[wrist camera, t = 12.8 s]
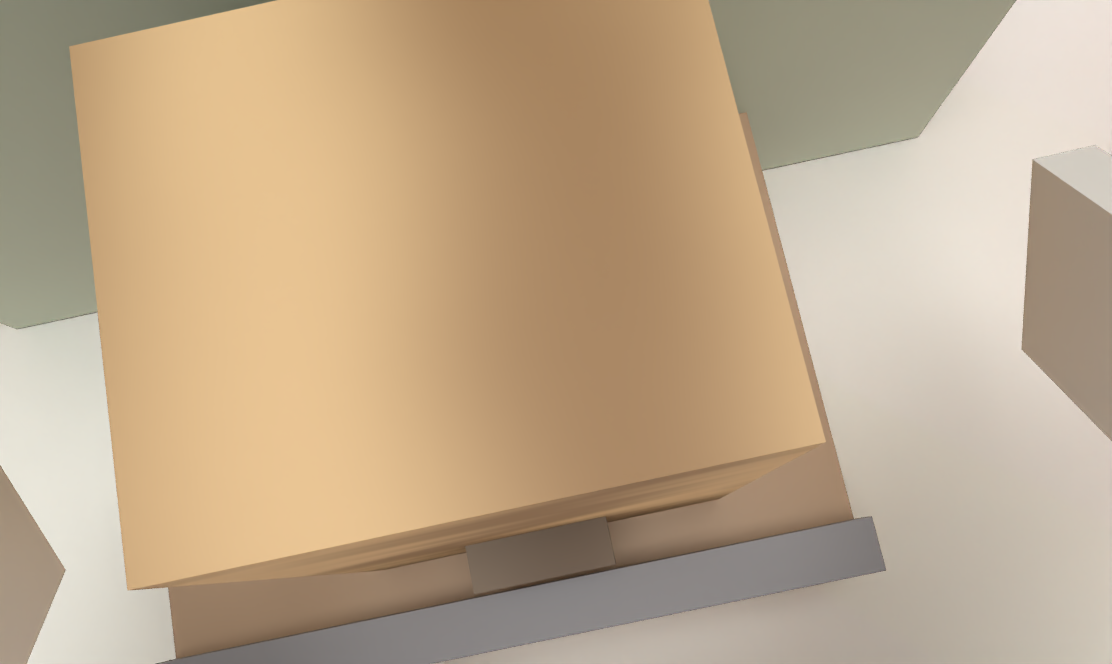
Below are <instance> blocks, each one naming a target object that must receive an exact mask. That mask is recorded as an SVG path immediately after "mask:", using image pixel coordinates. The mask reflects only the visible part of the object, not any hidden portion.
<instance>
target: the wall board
mask: <svg viewBox="0 0 1112 664" xmlns="http://www.w3.org/2000/svg"><path fill="white" fill-rule="evenodd" d="M271 1H276V0H0V323H2V324H5V325H7V326H10V327H13V328H15V329H19V328H24V327H29V326H33V325H38V324H43V323H47V322H52V321H57V320H61V319H66V318H71V317H76V316H80V315H85V314H90V313H94V312H98V311H97V301H96V292H95V283H94V273H93V264H92V255H91V245H90V236H89V227H88V217H87V208H86V199H85V190H84V180H83V171H82V162H81V152H80V143H79V134H78V124H77V115H76V106H75V96H74V87H73V78H72V68H71V59H70V50H69V46H73V45H78V44H82V43H87V42H91V41H96V40H100V39H105V38H109V37H114V36H118V35H123V34H127V33H132V32H136V31H141V30H145V29H150V28H154V27H159V26H163V25H168V24H172V23H177V22H181V21H186V20H190V19H195V18H199V17H204V16H208V15H213V14H217V13H222V12H226V11H231V10H235V9H240V8H244V7H249V6H253V5H258V4H262V3H267V2H271ZM1015 1H1016V0H709V4H710V8H711V12H712V16H713V19H714V23H715V27H716V31H717V34H718V38H719V42H720V46H721V49H722V53H723V57H724V61H725V64H726V68H727V72H728V76H729V79H730V83H731V87H732V91H733V94H734V98H735V102H736V106H737V109H738V113H739V117H740V121H741V124H742V128H743V132H744V136H745V140H746V143H747V147H748V151H749V155H750V158H751V162H752V166H753V170H754V173H755V177H756V181H757V185H758V188H759V192H760V196H761V200H762V203H763V207H764V211H765V215H766V218H767V222H768V226H769V230H770V233H771V237H772V241H773V245H774V248H775V252H776V256H777V260H778V264H779V267H780V271H781V275H782V279H783V282H784V286H785V290H786V294H787V297H788V301H789V305H790V309H791V312H792V316H793V320H794V324H795V327H796V331H797V335H798V339H799V342H800V346H801V350H802V354H803V357H804V361H805V365H806V369H807V373H808V376H809V380H810V384H811V388H812V391H813V395H814V399H815V403H816V406H817V410H818V414H819V418H820V421H821V425H822V429H823V433H824V436H825V440H826V442H825V443H823V444H821V445H820V446H818V447H816V448H814V449H812V450H810V451H808V452H806V453H805V454H803V455H801V456H799V457H797V458H795V459H793V460H791V461H790V462H788V463H786V464H784V465H782V466H780V467H778V468H776V469H775V470H773V471H771V472H769V473H767V474H765V475H763V476H761V477H760V478H758V479H756V480H754V481H752V482H750V483H748V484H747V485H745V486H743V487H741V488H739V489H737V490H735V491H733V492H732V493H730V494H728V495H726V496H724V497H722V498H720V499H718V500H713V501H708V502H703V503H699V504H694V505H689V506H685V507H680V508H675V509H670V510H666V511H661V512H656V513H651V514H647V515H642V516H637V517H633V518H628V519H623V520H618V521H614V522H609V523H608V527H609V532H610V537H611V541H612V546H613V551H614V556H615V560H616V565H611V566H606V567H601V568H597V569H592V570H587V571H582V572H578V573H573V574H568V575H563V576H559V577H554V578H549V579H544V580H540V581H535V582H530V583H526V584H521V585H516V586H511V587H507V588H502V589H497V590H492V591H488V592H483V593H478V594H474V592H473V586H472V581H471V575H470V570H469V564H468V559H467V553H463V554H458V555H453V556H448V557H444V558H439V559H434V560H430V561H425V562H420V563H415V564H411V565H406V566H401V567H397V568H392V569H387V570H381V571H368V572H356V573H343V574H330V575H317V576H305V577H292V578H279V579H267V580H254V581H241V582H228V583H216V584H203V585H190V586H178V587H168V590H169V599H170V607H171V616H172V625H173V634H174V643H175V652H176V659H173V660H169V661H165V662H161V663H157V664H433V663H438V662H443V661H448V660H452V659H457V658H462V657H467V656H472V655H477V654H482V653H487V652H491V651H496V650H501V649H506V648H511V647H516V646H521V645H526V644H530V643H535V642H540V641H545V640H550V639H555V638H560V637H564V636H569V635H574V634H579V633H584V632H589V631H594V630H599V629H603V628H608V627H613V626H618V625H623V624H628V623H633V622H637V621H642V620H647V619H652V618H657V617H662V616H667V615H672V614H676V613H681V612H686V611H691V610H696V609H701V608H706V607H711V606H715V605H720V604H725V603H730V602H735V601H740V600H745V599H749V598H754V597H759V596H764V595H769V594H774V593H779V592H784V591H788V590H793V589H798V588H803V587H808V586H813V585H818V584H823V583H827V582H832V581H837V580H842V579H847V578H852V577H857V576H861V575H866V574H871V573H876V572H881V571H886V568H885V564H884V560H883V556H882V553H881V549H880V545H879V542H878V538H877V534H876V530H875V527H874V523H873V519H872V516H871V517H864V518H857V519H854V518H853V514H852V511H851V507H850V503H849V499H848V495H847V492H846V488H845V484H844V480H843V476H842V473H841V469H840V465H839V461H838V457H837V454H836V450H835V446H834V442H833V438H832V435H831V431H830V427H829V423H828V419H827V416H826V412H825V408H824V404H823V400H822V397H821V393H820V389H819V385H818V381H817V378H816V374H815V370H814V366H813V362H812V359H811V355H810V351H809V347H808V343H807V340H806V336H805V332H804V328H803V324H802V321H801V317H800V313H799V309H798V305H797V302H796V298H795V294H794V290H793V286H792V283H791V279H790V275H789V271H788V267H787V264H786V260H785V256H784V252H783V248H782V245H781V241H780V237H779V233H778V229H777V226H776V222H775V218H774V214H773V210H772V207H771V203H770V199H769V195H768V191H767V188H766V184H765V180H764V176H763V172H762V170H766V169H770V168H775V167H780V166H785V165H789V164H794V163H799V162H803V161H808V160H813V159H817V158H822V157H827V156H832V155H836V154H841V153H846V152H850V151H855V150H860V149H864V148H869V147H874V146H878V145H883V144H888V143H893V142H897V141H902V140H907V139H911V138H916V137H918V136H919V135H920V134H921V132H922V131H923V129H924V128H925V127H926V125H927V124H928V122H929V121H930V120H931V118H932V117H933V116H934V114H935V113H936V111H937V110H938V109H939V107H940V106H941V104H942V103H943V102H944V100H945V99H946V97H947V96H948V95H949V93H950V92H951V90H952V89H953V88H954V86H955V85H956V83H957V82H958V81H959V79H960V78H961V76H962V75H963V74H964V72H965V71H966V70H967V68H968V67H969V65H970V64H971V63H972V61H973V60H974V58H975V57H976V56H977V54H978V53H979V51H980V50H981V49H982V47H983V46H984V44H985V43H986V42H987V40H988V39H989V37H990V36H991V35H992V33H993V32H994V30H995V29H996V28H997V26H998V25H999V24H1000V22H1001V21H1002V19H1003V18H1004V17H1005V15H1006V14H1007V12H1008V11H1009V10H1010V8H1011V7H1012V5H1013V4H1014V3H1015Z"/></svg>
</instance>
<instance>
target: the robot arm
mask: <svg viewBox="0 0 1112 664" xmlns="http://www.w3.org/2000/svg"><path fill="white" fill-rule="evenodd" d="M1022 350H1023V351H1024V352H1025V353H1026V354H1027V355H1028V356H1029V357H1030V358H1031V359H1032V360H1033V361H1034V362H1035V363H1036V364H1037V365H1038V366H1039V367H1040V368H1041V369H1042V370H1043V372H1044V373H1045V374H1046V375H1047V376H1048V377H1049V378H1050V379H1051V380H1052V381H1053V382H1054V383H1055V384H1056V385H1057V386H1058V387H1059V388H1060V389H1061V390H1062V391H1063V392H1064V393H1065V394H1066V395H1067V396H1068V397H1069V398H1070V399H1071V400H1072V401H1073V402H1074V403H1075V404H1076V405H1077V406H1078V407H1079V408H1080V409H1081V410H1082V411H1083V412H1084V413H1085V414H1086V415H1087V416H1088V417H1089V418H1090V419H1091V420H1092V421H1093V423H1094V424H1095V425H1096V426H1097V427H1098V428H1099V429H1100V430H1101V431H1102V432H1103V433H1104V434H1105V435H1106V436H1107V437H1108V438H1109V439H1110V440H1111V441H1112V155H1110V154H1109V153H1107V152H1105V151H1104V150H1102V149H1100V148H1099V147H1097V146H1096V145H1093V146H1089V147H1084V148H1080V149H1076V150H1071V151H1067V152H1063V153H1058V154H1054V155H1050V156H1045V157H1041V158H1037V159H1033V161H1032V178H1031V195H1030V212H1029V229H1028V246H1027V264H1026V281H1025V298H1024V315H1023V332H1022ZM64 573H65V568H64V567H63V565H62V563H61V562H60V560H59V559H58V557H57V555H56V554H55V552H54V551H53V549H52V547H51V546H50V544H49V543H48V541H47V539H46V538H45V536H44V535H43V533H42V531H41V530H40V528H39V527H38V525H37V523H36V522H35V520H34V519H33V517H32V515H31V514H30V512H29V511H28V509H27V507H26V506H25V504H24V503H23V501H22V499H21V498H20V496H19V495H18V493H17V491H16V490H15V488H14V487H13V485H12V483H11V482H10V480H9V479H8V477H7V475H6V474H5V472H4V471H3V469H2V467H1V466H0V664H27V661H28V659H29V657H30V654H31V652H32V649H33V647H34V645H35V642H36V640H37V637H38V635H39V633H40V630H41V628H42V625H43V623H44V621H45V618H46V616H47V613H48V611H49V609H50V606H51V604H52V601H53V599H54V597H55V594H56V592H57V589H58V587H59V585H60V582H61V580H62V577H63V575H64Z"/></svg>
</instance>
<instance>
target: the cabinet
mask: <svg viewBox="0 0 1112 664" xmlns="http://www.w3.org/2000/svg"><path fill="white" fill-rule="evenodd" d="M69 50H70V59H71V68H72V78H73V87H74V96H75V106H76V115H77V124H78V134H79V143H80V152H81V162H82V171H83V180H84V190H85V199H86V208H87V217H88V227H89V236H90V245H91V255H92V264H93V273H94V283H95V292H96V301H97V311H98V320H99V329H100V338H101V348H102V357H103V366H104V376H105V385H106V394H107V404H108V413H109V422H110V432H111V441H112V450H113V459H114V469H115V478H116V487H117V497H118V506H119V515H120V525H121V534H122V543H123V553H124V562H125V571H126V581H127V590H140V589H152V588H165V587H178V586H190V585H203V584H216V583H228V582H241V581H254V580H267V579H279V578H292V577H305V576H317V575H330V574H343V573H356V572H368V571H381V570H387V569H392V568H397V567H401V566H406V565H411V564H415V563H420V562H425V561H430V560H434V559H439V558H444V557H448V556H453V555H458V554H463V553H467V559H468V564H469V570H470V575H471V581H472V586H473V592H474V594H478V593H483V592H488V591H492V590H497V589H502V588H507V587H511V586H516V585H521V584H526V583H530V582H535V581H540V580H544V579H549V578H554V577H559V576H563V575H568V574H573V573H578V572H582V571H587V570H592V569H597V568H601V567H606V566H611V565H616V560H615V556H614V551H613V546H612V541H611V537H610V532H609V527H608V523H609V522H614V521H618V520H623V519H628V518H633V517H637V516H642V515H647V514H651V513H656V512H661V511H666V510H670V509H675V508H680V507H685V506H689V505H694V504H699V503H703V502H708V501H713V500H718V499H720V498H722V497H724V496H726V495H728V494H730V493H732V492H733V491H735V490H737V489H739V488H741V487H743V486H745V485H747V484H748V483H750V482H752V481H754V480H756V479H758V478H760V477H761V476H763V475H765V474H767V473H769V472H771V471H773V470H775V469H776V468H778V467H780V466H782V465H784V464H786V463H788V462H790V461H791V460H793V459H795V458H797V457H799V456H801V455H803V454H805V453H806V452H808V451H810V450H812V449H814V448H816V447H818V446H820V445H821V444H823V443H825V442H826V440H825V436H824V433H823V429H822V425H821V421H820V418H819V414H818V410H817V406H816V403H815V399H814V395H813V391H812V388H811V384H810V380H809V376H808V373H807V369H806V365H805V361H804V357H803V354H802V350H801V346H800V342H799V339H798V335H797V331H796V327H795V324H794V320H793V316H792V312H791V309H790V305H789V301H788V297H787V294H786V290H785V286H784V282H783V279H782V275H781V271H780V267H779V264H778V260H777V256H776V252H775V248H774V245H773V241H772V237H771V233H770V230H769V226H768V222H767V218H766V215H765V211H764V207H763V203H762V200H761V196H760V192H759V188H758V185H757V181H756V177H755V173H754V170H753V166H752V162H751V158H750V155H749V151H748V147H747V143H746V140H745V136H744V132H743V128H742V124H741V121H740V117H739V113H738V109H737V106H736V102H735V98H734V94H733V91H732V87H731V83H730V79H729V76H728V72H727V68H726V64H725V61H724V57H723V53H722V49H721V46H720V42H719V38H718V34H717V31H716V27H715V23H714V19H713V16H712V12H711V8H710V4H709V0H276V1H271V2H267V3H262V4H258V5H253V6H249V7H244V8H240V9H235V10H231V11H226V12H222V13H217V14H213V15H208V16H204V17H199V18H195V19H190V20H186V21H181V22H177V23H172V24H168V25H163V26H159V27H154V28H150V29H145V30H141V31H136V32H132V33H127V34H123V35H118V36H114V37H109V38H105V39H100V40H96V41H91V42H87V43H82V44H78V45H73V46H69Z"/></svg>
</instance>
